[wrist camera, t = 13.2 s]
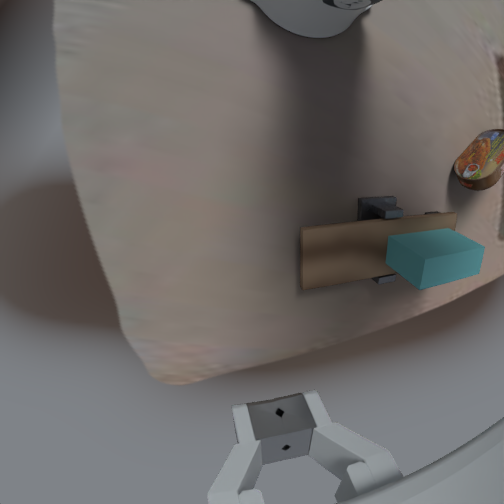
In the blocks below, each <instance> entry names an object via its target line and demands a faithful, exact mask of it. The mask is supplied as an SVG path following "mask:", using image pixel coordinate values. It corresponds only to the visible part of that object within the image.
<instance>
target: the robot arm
mask: <svg viewBox="0 0 504 504" xmlns="http://www.w3.org/2000/svg"><path fill="white" fill-rule="evenodd" d="M250 1H252V2H254V3H256V4H257V5H258V6H259V7H260V8H261V10H262V11H263V12H264V13H265V14H266V15H267V16H268V17H269V18H270V19H271V20H272V21H274V22H275V23H276V24H278V25H279V26H281V27H282V28H284V29H286V30H288V31H290V32H293V33H295V34H298V35H301V36H306V37H312V38H325V37H331V36H335V35H337V34H339V33H341V32H343V31H344V30H346V29H347V28H348V27H349V26H350V25H351V24H352V22H353V21H354V20H355V19H356V17H357V16H358V15H360V14H361V13H362V12H364V11H366V10H368V9H369V8H370V7H371V6H372V5H373V4H375V3H378V2H380V1H382V0H250ZM232 413H233V420H234V426H235V431H236V437H237V442H238V444H235V445H234V446H233V448H232V450H231V452H230V454H229V456H228V458H227V459H226V461H225V463H224V465H223V467H222V469H221V471H220V472H219V475H218V476H217V478H216V480H215V481H214V483H213V485H212V487H211V488H210V490H209V492H208V494H207V496H208V503H209V504H264V500H263V496H262V493H261V491H259V490H257V489H253V488H254V485H255V483H256V480H257V478H258V476H259V473H260V471H261V468H262V465H263V464H268V463H272V462H277V461H282V460H286V459H291V458H296V457H300V456H304V455H309V456H310V457H311V458H312V459H314V460H315V461H316V462H317V463H319V464H320V465H321V466H323V467H324V468H325V469H327V470H328V471H329V472H331V473H332V474H334V475H335V476H336V477H338V478H339V479H340V480H342V481H341V483H340V485H339V487H338V489H337V492H336V494H335V498H336V500H337V502H338V503H336V504H504V417H503V418H502V419H500V420H499V421H498V422H496V423H495V424H493V425H492V426H491V427H489V428H488V429H487V430H485V431H484V432H482V433H481V434H479V435H478V436H476V437H475V438H473V439H472V440H470V441H468V442H467V443H466V444H464V445H462V446H460V447H459V448H457V449H456V450H454V451H452V452H451V453H449V454H447V455H445V456H444V457H442V458H440V459H438V460H437V461H435V462H433V463H431V464H429V465H427V466H425V467H423V468H421V469H419V470H417V471H415V472H413V473H411V474H409V475H407V476H405V477H403V475H402V473H401V471H400V470H399V468H398V466H397V464H396V463H395V461H394V459H393V457H392V456H391V454H390V452H389V451H388V450H387V449H385V448H383V447H381V446H379V445H377V444H376V443H374V442H372V441H370V440H368V439H366V438H364V437H363V436H361V435H358V434H357V433H355V432H353V431H352V430H350V429H348V428H346V427H345V426H343V425H341V424H339V423H337V422H335V423H332V420H331V418H330V416H329V414H328V412H327V410H326V408H325V406H324V404H323V402H322V400H321V398H320V396H319V394H318V392H317V391H316V390H312V391H307V392H303V393H297V394H293V395H288V396H284V397H279V398H275V399H272V400H266V401H259V402H252V403H246V404H239V405H232Z"/></svg>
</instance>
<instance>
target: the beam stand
mask: <svg viewBox="0 0 504 504" xmlns="http://www.w3.org/2000/svg"><path fill="white" fill-rule="evenodd" d="M396 199H397V198H396V197H394V196H384V197H368V198H358V221H364V220H374V219H384V218H385V219H388V218H398V217H403V209H401V208H399V207H396ZM436 213H440V212H438V211H436V212H425V214H436ZM372 279H373V280H374V281H375V282H376V283H377V284H383V283H388V282H393V281H395V279H396V274H394V273H393V274H388V275H383V276H378V277H373V278H372Z"/></svg>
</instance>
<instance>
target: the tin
mask: <svg viewBox="0 0 504 504" xmlns="http://www.w3.org/2000/svg"><path fill="white" fill-rule="evenodd" d="M454 170H455V173H456V174H457V177H458V180H459V182H460V184H461V185H462V186H464V187H466V188H468V189H472V190H476V191H478V190H485V189H487V188H490V187H492V186H493V185H494V184H496V182H497V181H498V180H499V179H500V177H501V176H502V175H503V173H504V130H503V129H492V130H488V131H485V132H483V133H481V134H480V135H478V136H477V137H476V139H475V140H474V141H473V142H472V143H471V144H470V145H469V146H468V148H467V149H466V150H465V151H464V152H463V153H462V154H461V155H460V156H459V157H458V159H457V160H456V162H455V164H454Z"/></svg>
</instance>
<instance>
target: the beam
mask: <svg viewBox="0 0 504 504" xmlns="http://www.w3.org/2000/svg"><path fill="white" fill-rule="evenodd" d="M456 220H457V213H454V212H447V213H436V214H425V215H414V216H404V217H398V218H388V219H385V218H384V219H374V220H364V221H355V222H345V223H336V224H326V225H317V226H308V227H300V287H301V289H302V290H307V289H313V288H319V287H325V286H330V285H336V284H341V283H347V282H352V281H357V280H363V279H368V278H373V277H378V276H383V275H388V274H393V273H397V272H396V271H395V270H393V269H392V268H391V267H390V266H388V265H387V264H386V254H387V245H388V236H392V235H399V234H407V233H415V232H422V231H430V230H438V229H445V228H449V229H451V230H453V231H455V227H456Z"/></svg>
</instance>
